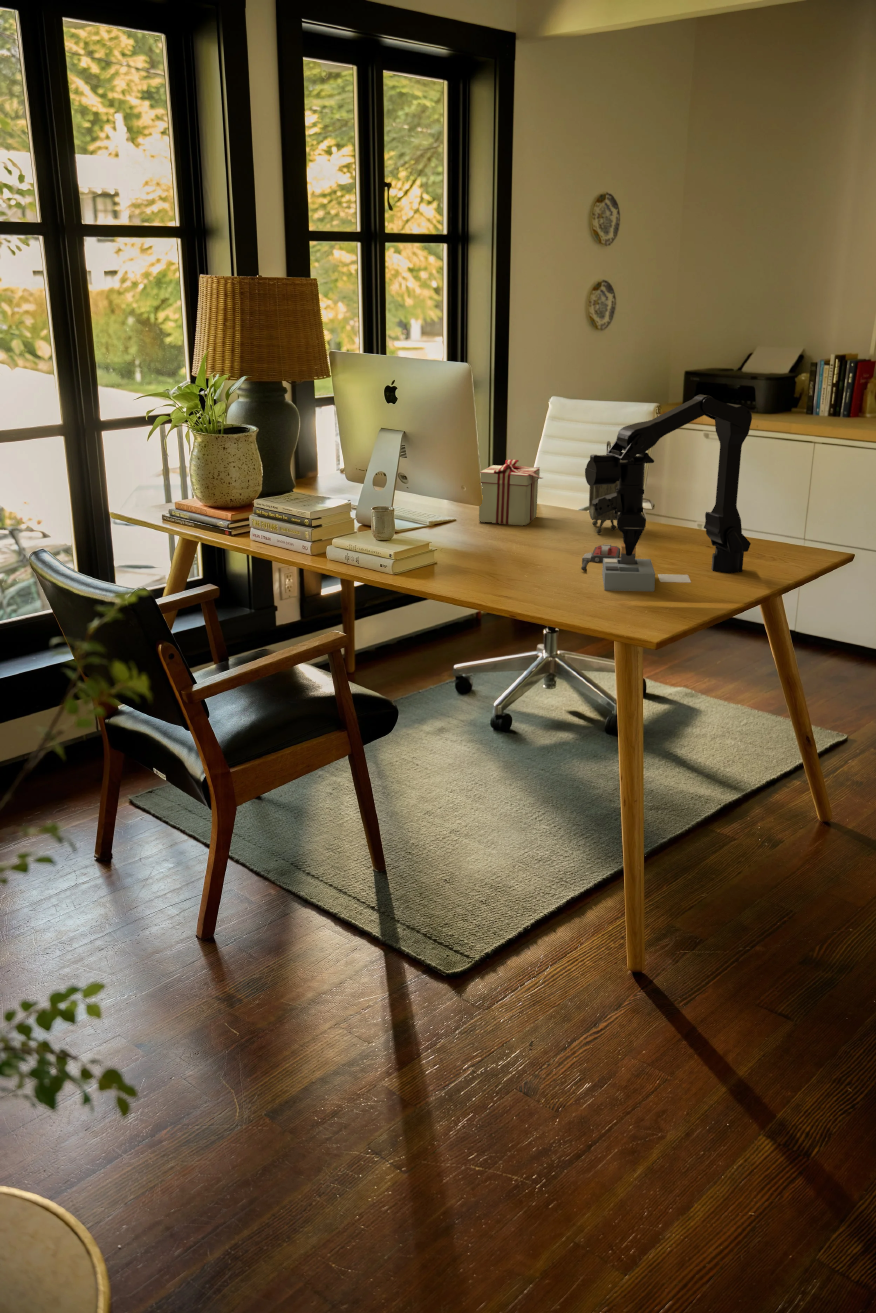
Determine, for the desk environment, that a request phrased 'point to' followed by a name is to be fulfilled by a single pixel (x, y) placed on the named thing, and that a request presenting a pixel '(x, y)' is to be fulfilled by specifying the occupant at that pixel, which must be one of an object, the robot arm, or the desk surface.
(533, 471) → the gift box
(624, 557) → the plug
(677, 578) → the plate
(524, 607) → the desk surface
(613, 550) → the red grey elongated piece
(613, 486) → the tabletop clock
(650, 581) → the port block
